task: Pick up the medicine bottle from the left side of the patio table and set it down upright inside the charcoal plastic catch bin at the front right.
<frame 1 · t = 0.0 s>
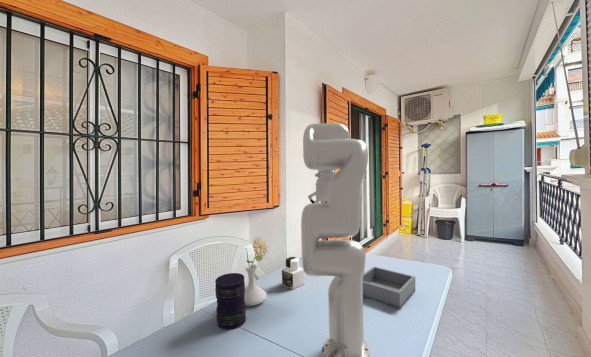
hand: (327, 213, 116), 31 cm above the table, tool pointing down, fingers open, 9 cm apart
wineglass: (346, 262, 141), on the table
flower in vase: (254, 300, 103), on the table
catch bin: (385, 292, 106), on the table
medicine bottle: (293, 285, 116), on the table
dark blue cylinder: (231, 321, 89), on the table
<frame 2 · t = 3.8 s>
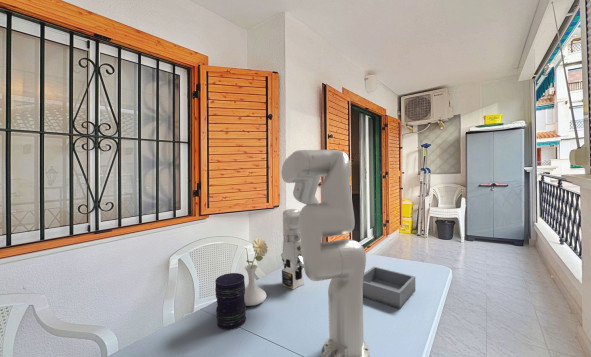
hand: (292, 275, 116), 4 cm above the table, tool pointing down, fingers closed on medicine bottle, 7 cm apart
medicine bottle: (293, 284, 116), on the table, touching gripper
everything else where it was.
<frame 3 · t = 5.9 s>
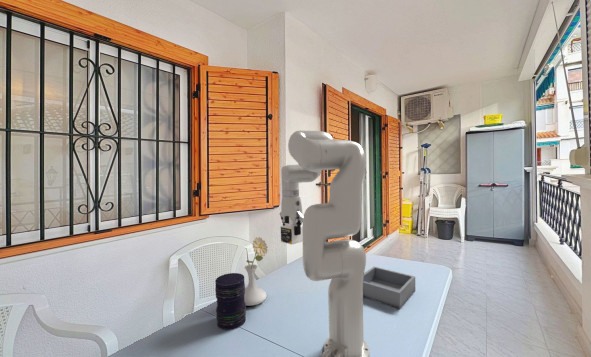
hand: (291, 232, 115), 23 cm above the table, tool pointing down, fingers closed on medicine bottle, 7 cm apart
medicine bottle: (292, 242, 115), point 19 cm above the table, touching gripper
everything else where it was.
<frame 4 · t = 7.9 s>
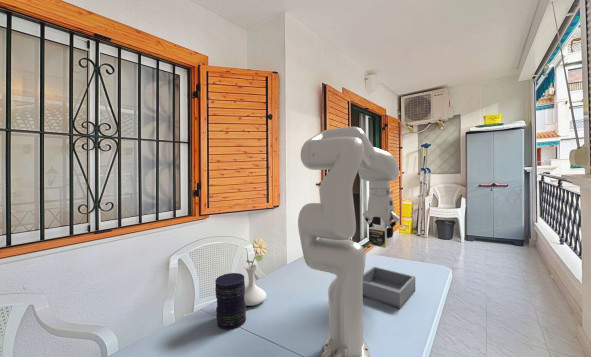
hand: (380, 235, 105), 24 cm above the table, tool pointing down, fingers closed on medicine bottle, 7 cm apart
medicine bottle: (380, 245, 106), point 20 cm above the table, touching gripper
everything else where it was.
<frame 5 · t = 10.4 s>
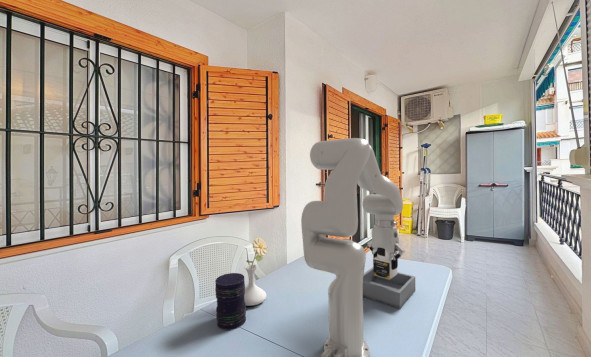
hand: (385, 265, 106), 11 cm above the table, tool pointing down, fingers closed on medicine bottle, 7 cm apart
medicine bottle: (385, 275, 106), point 7 cm above the table, touching gripper
everything else where it was.
when the fingers open (7 cm above the table, at t = 12.3 s): medicine bottle drops 2 cm, resting on catch bin.
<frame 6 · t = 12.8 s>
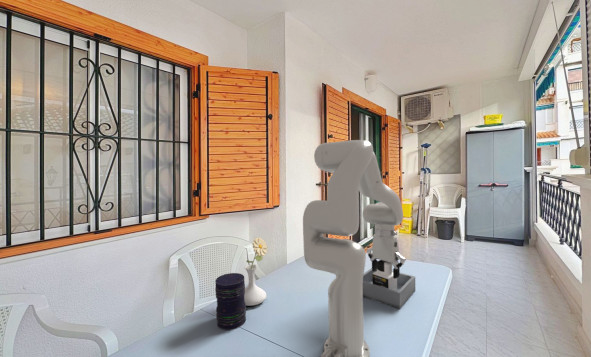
hand: (385, 273, 106), 8 cm above the table, tool pointing down, fingers open, 9 cm apart
medicine bottle: (384, 290, 106), point 1 cm above the table, touching catch bin
everything else where it was.
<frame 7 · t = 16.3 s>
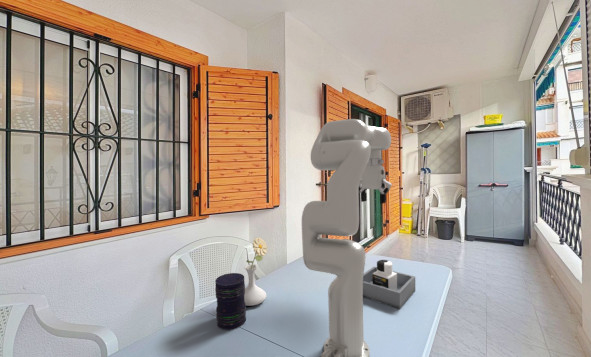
hand: (373, 202, 113), 36 cm above the table, tool pointing down, fingers open, 9 cm apart
nothing on the table moved.
at the end: medicine bottle inside the target area on the catch bin (0.2 cm from its centre), point 0.8 cm above the catch bin's base; medicine bottle tilted 0°; the gripper is holding nothing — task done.
